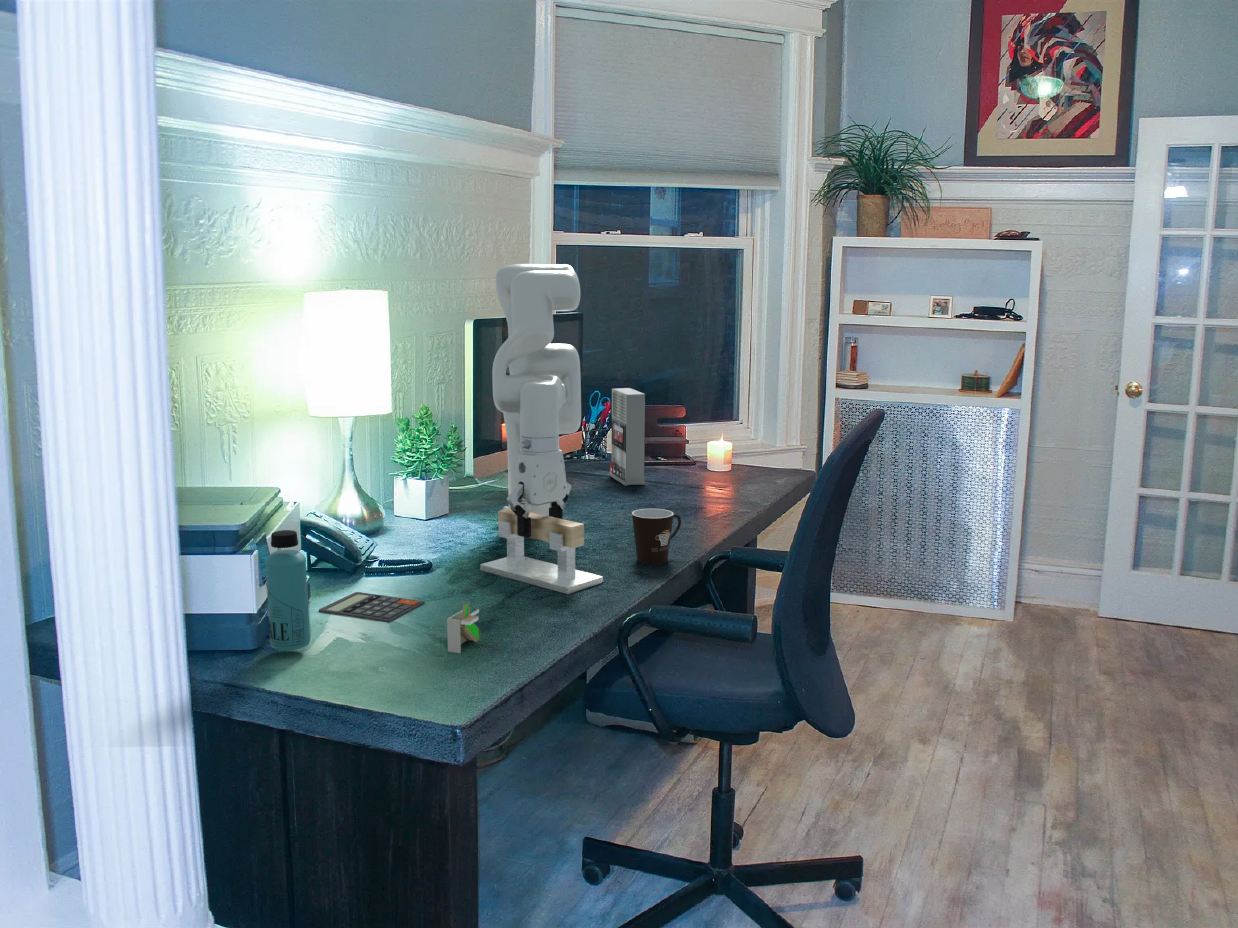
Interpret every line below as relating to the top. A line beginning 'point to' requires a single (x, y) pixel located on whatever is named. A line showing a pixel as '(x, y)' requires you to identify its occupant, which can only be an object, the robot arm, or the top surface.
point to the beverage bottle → (287, 594)
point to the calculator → (372, 606)
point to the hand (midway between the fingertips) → (540, 531)
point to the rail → (547, 527)
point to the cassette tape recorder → (628, 436)
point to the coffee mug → (653, 534)
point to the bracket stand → (540, 565)
